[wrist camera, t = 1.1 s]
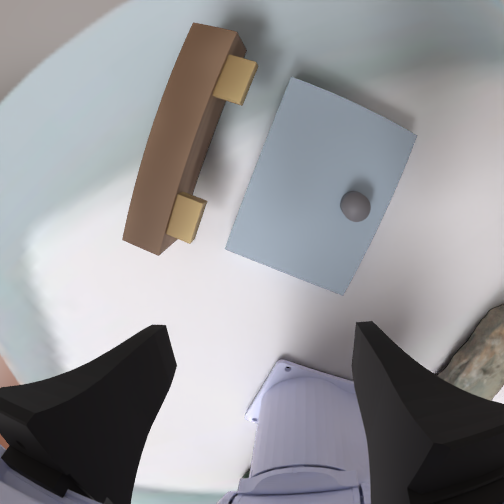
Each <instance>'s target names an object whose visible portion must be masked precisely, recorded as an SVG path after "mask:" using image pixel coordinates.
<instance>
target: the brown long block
mask: <svg viewBox="0 0 504 504" xmlns="http://www.w3.org/2000/svg"><path fill="white" fill-rule="evenodd" d="M246 51H247V50H246V48H245V46H244V44H243V42H242V40H241V39H240V37H239V35H238V33H237V32H235V31H231V30H227V29H223V28H218V27H213V26H209V25H204V24H198V23H193V24H192V26H191V28H190V31H189V33H188V35H187V37H186V39H185V42H184V44H183V46H182V49H181V51H180V53H179V56H178V58H177V60H176V63H175V65H174V68H173V70H172V73H171V75H170V78H169V81H168V83H167V86H166V88H165V91H164V94H163V97H162V99H161V102H160V105H159V108H158V111H157V114H156V117H155V119H154V122H153V126H152V129H151V132H150V135H149V138H148V141H147V144H146V148H145V151H144V154H143V158H142V161H141V165H140V168H139V172H138V176H137V179H136V183H135V187H134V191H133V195H132V199H131V203H130V207H129V211H128V216H127V220H126V224H125V229H124V234H123V239H122V240H124V241H126V242H128V243H130V244H133V245H135V246H137V247H140V248H142V249H144V250H146V251H149V252H151V253H153V254H156V255H158V256H159V255H160V254H161V253H162V252H163V251H165V250H166V249H167V248H168V247H169V246H170V245H171V244H173V243H174V242H175V241H176V240H177V239H180V240H182V241H184V242H187V243H189V244H190V243H191V242H192V241H193V240H194V239H195V237H196V234H197V230H198V227H199V224H200V221H201V218H202V215H203V212H204V209H205V206H206V203H207V201H206V200H204V199H201V198H198V197H196V196H193V192H194V189H195V185H196V182H197V179H198V177H199V174H200V171H201V168H202V165H203V162H204V159H205V156H206V153H207V151H208V148H209V145H210V142H211V139H212V137H213V134H214V131H215V129H216V126H217V123H218V120H219V118H220V115H221V113H222V110H223V107H224V105H225V102H226V101H229V102H232V103H235V104H238V105H241V106H242V105H243V103H244V100H245V98H246V95H247V93H248V90H249V88H250V85H251V83H252V80H253V78H254V76H255V73H256V71H257V68H258V65H257V62H254V61H251V60H247V59H244V56H245V54H246Z"/></svg>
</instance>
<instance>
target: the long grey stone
mask: <svg viewBox="0 0 504 504" xmlns="http://www.w3.org/2000/svg"><path fill="white" fill-rule="evenodd" d="M438 377H440V378H441V379H443V380H445V381H447V382H448V383H450V384H452V385H454V386H456V387H458V388H460V389H462V390H464V391H467V392H469V393H471V394H474V395H476V396H479V397H482V398H485V399H487V400H490V401H491V400H492V399H493V397H494V396H495V395H496V394H497V393H498V392H499V390H500V389H501V387H502V386H503V385H504V304H503V305H501V306H499V307H495V308H493V309H491V310H490V311H489V312H488V313H487V315H486V317H485V318H482V320H481V322H480V324H479V325H478V326H477V327H476V329H475V331H474V332H473V333H472V335H471V336H470V339H469V340H468V341H467V342H466V343H465V344H464V345H463V346H462V347H461V348H460V349H459V351H458V352H457V353H456V354H455V355H454V356H453V358H452V360H451V362H450V363H449V364H448V366H447V367H446V368H445V369H444V370H443V371H442V372H440V373H439V374H438Z"/></svg>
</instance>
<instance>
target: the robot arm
mask: <svg viewBox="0 0 504 504" xmlns="http://www.w3.org/2000/svg"><path fill="white" fill-rule="evenodd" d="M176 367H177V364H176V361H175V357H174V354H173V350H172V347H171V343H170V339H169V335H168V332H167V328H166V325H151V326H149V327H147V328H145V329H143V330H142V331H140V332H138V333H137V334H135V335H134V336H132V337H131V338H129V339H127V340H126V341H124V342H123V343H121V344H120V345H118V346H116V347H115V348H113V349H112V350H110V351H108V352H106V353H105V354H103V355H101V356H100V357H98V358H96V359H94V360H92V361H91V362H89V363H87V364H85V365H82V366H80V367H78V368H76V369H74V370H71V371H69V372H66V373H63V374H60V375H58V376H55V377H52V378H49V379H45V380H42V381H38V382H33V383H29V384H24V385H17V386H10V387H2V388H0V434H1V435H2V436H3V438H4V439H5V440H6V442H7V443H8V444H9V445H10V446H9V447H8V448H7V450H6V449H5V448H4V447H2V446H1V445H0V504H131V498H132V491H133V487H134V482H135V478H136V473H137V469H138V465H139V462H140V458H141V454H142V451H143V448H144V445H145V442H146V439H147V436H148V433H149V431H150V429H151V426H152V424H153V422H154V420H155V418H156V416H157V414H158V412H159V410H160V408H161V406H162V403H163V401H164V399H165V397H166V395H167V393H168V391H169V389H170V386H171V383H172V380H173V377H174V374H175V370H176ZM286 367H291V368H289V369H288V368H286ZM352 372H353V380H354V381H350V380H347V379H343V378H340V377H336V376H333V375H330V374H327V373H323V372H320V371H317V370H314V369H311V368H308V367H305V366H301V365H298V364H295V363H292V362H289V361H287V360H278V361H277V362H276V364H275V366H274V367H273V369H272V371H271V372H270V374H269V376H268V377H267V379H266V381H265V382H264V384H263V386H262V387H261V389H260V391H259V392H258V394H257V396H256V397H255V399H254V400H253V402H252V404H251V405H250V407H249V409H248V410H247V412H246V413H245V419H246V420H248V421H251V422H254V423H257V424H258V425H257V431H256V438H255V444H254V450H253V456H252V462H251V468H250V474H249V478H241V479H240V482H239V487H238V491H230V492H227V493H226V494H225V495H224V496H223V497H222V498H221V499H220V500H219V501H218V502H217V503H216V504H504V404H502V403H498V402H494V401H490V400H487V399H485V398H482V397H479V396H476V395H474V394H471V393H469V392H467V391H464V390H462V389H460V388H458V387H456V386H454V385H452V384H450V383H448V382H447V381H445V380H443V379H441V378H440V377H438V376H437V375H435V374H433V373H432V372H430V371H429V370H427V369H426V368H424V367H423V366H422V365H420V364H419V363H418V362H416V361H415V360H414V359H413V358H411V357H410V356H409V355H408V354H406V353H405V352H404V351H403V350H402V349H401V348H400V347H398V346H397V345H396V344H395V343H394V342H393V341H392V340H391V339H390V338H389V337H388V336H387V335H386V334H385V333H384V332H383V331H382V330H381V329H380V328H379V327H378V326H377V325H376V324H374V323H373V322H372V321H369V322H356V329H355V340H354V350H353V359H352Z"/></svg>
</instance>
